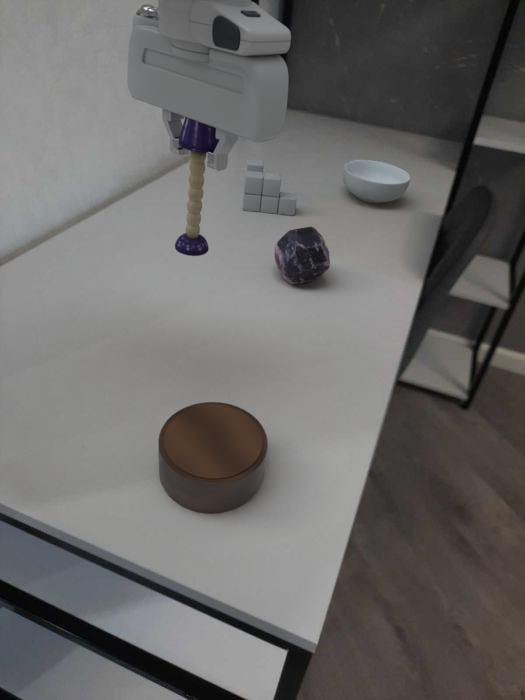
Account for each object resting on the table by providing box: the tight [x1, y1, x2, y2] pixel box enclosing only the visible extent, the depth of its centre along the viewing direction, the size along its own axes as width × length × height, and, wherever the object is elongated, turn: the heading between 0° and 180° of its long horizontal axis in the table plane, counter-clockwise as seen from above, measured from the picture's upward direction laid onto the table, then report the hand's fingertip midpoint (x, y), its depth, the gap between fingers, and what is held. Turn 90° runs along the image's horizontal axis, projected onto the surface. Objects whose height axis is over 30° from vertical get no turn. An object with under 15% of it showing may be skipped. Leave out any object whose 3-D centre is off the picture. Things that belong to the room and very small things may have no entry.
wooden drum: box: [157, 401, 269, 514], centre depth 59 cm, size 12×12×5 cm
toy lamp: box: [174, 117, 220, 257], centre depth 61 cm, size 5×5×17 cm
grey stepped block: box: [242, 158, 298, 216], centre depth 122 cm, size 12×12×8 cm
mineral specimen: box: [273, 226, 331, 285], centre depth 95 cm, size 10×10×10 cm
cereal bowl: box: [342, 159, 411, 204], centre depth 132 cm, size 17×17×7 cm
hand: (198, 160), depth 59 cm, fingers closed on toy lamp, 4 cm apart
